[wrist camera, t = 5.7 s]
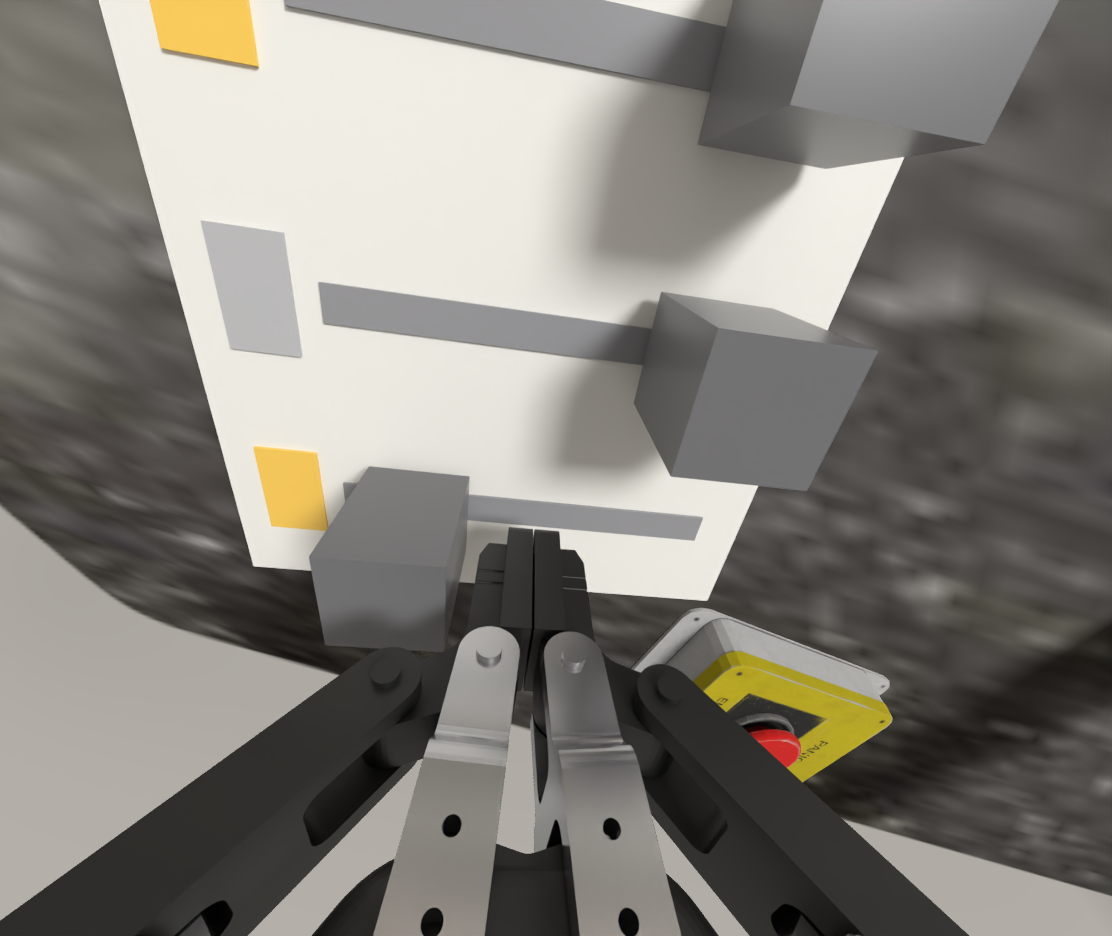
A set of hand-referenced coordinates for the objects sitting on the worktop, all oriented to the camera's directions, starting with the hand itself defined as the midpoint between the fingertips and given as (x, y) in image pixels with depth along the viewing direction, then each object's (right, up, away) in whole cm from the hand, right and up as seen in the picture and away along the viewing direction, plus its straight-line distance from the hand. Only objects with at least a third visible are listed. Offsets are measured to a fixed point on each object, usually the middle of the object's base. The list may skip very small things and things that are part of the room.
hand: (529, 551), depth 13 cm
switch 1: (-4, +1, +1) cm, 4 cm away
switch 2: (+5, +5, -1) cm, 7 cm away
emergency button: (+12, -10, +13) cm, 21 cm away
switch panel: (0, +8, +1) cm, 8 cm away
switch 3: (+6, +11, -4) cm, 13 cm away
